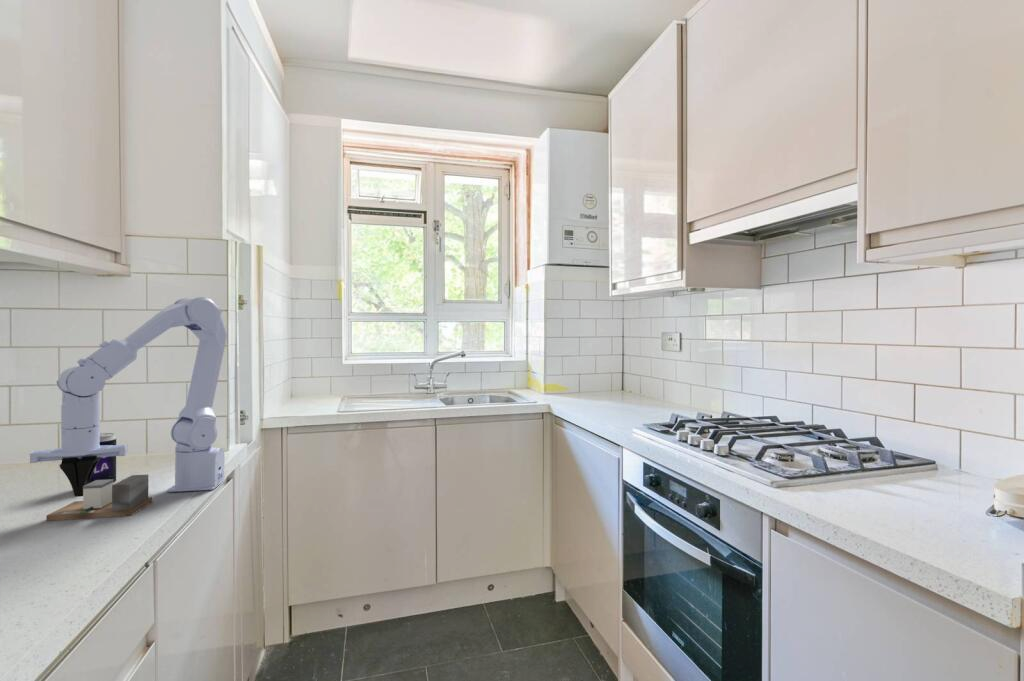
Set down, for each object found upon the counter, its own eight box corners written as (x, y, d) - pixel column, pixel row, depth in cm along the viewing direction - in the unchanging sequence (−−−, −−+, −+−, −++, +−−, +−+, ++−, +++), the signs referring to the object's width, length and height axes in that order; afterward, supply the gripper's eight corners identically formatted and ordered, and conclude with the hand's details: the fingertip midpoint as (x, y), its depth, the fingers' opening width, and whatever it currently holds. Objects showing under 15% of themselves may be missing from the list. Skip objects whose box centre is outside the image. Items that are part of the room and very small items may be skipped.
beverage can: (79, 487, 111) (79, 435, 111) (109, 481, 116) (109, 431, 116) (91, 491, 108) (91, 438, 108) (120, 485, 113) (121, 434, 113)
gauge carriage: (113, 501, 99) (113, 479, 99) (95, 511, 93) (95, 487, 93) (95, 502, 98) (96, 480, 98) (77, 512, 93) (77, 488, 93)
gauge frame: (152, 502, 102) (152, 473, 102) (131, 515, 94) (131, 485, 94) (74, 506, 99) (75, 477, 99) (46, 520, 91) (46, 489, 91)
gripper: (131, 421, 103) (131, 484, 103) (41, 425, 96) (41, 493, 96) (122, 426, 96) (121, 494, 96) (24, 432, 90) (24, 504, 90)
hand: (80, 495), depth 96 cm, fingers closed
